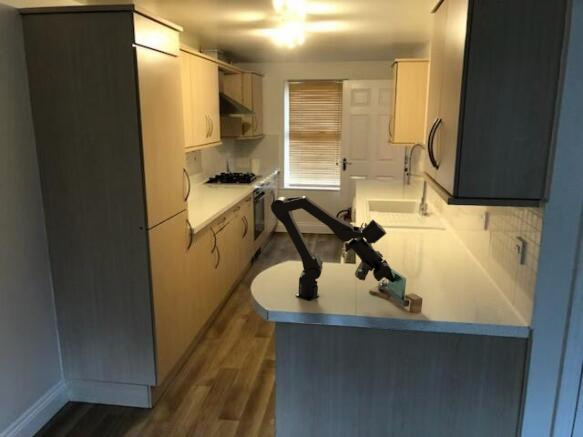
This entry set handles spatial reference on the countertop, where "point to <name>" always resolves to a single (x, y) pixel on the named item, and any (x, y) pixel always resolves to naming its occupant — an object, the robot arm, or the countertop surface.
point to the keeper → (414, 303)
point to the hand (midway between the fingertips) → (393, 281)
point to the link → (395, 288)
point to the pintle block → (378, 292)
